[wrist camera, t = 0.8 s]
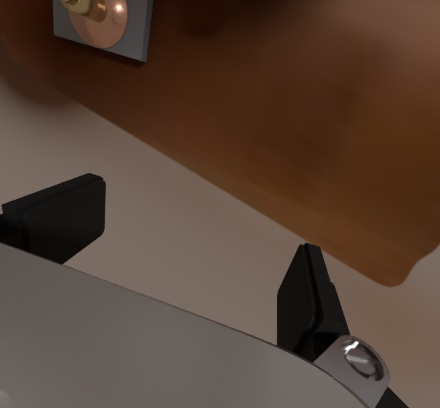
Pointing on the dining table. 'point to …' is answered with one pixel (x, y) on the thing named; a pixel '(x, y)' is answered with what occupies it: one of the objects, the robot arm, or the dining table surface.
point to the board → (132, 38)
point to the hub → (98, 20)
